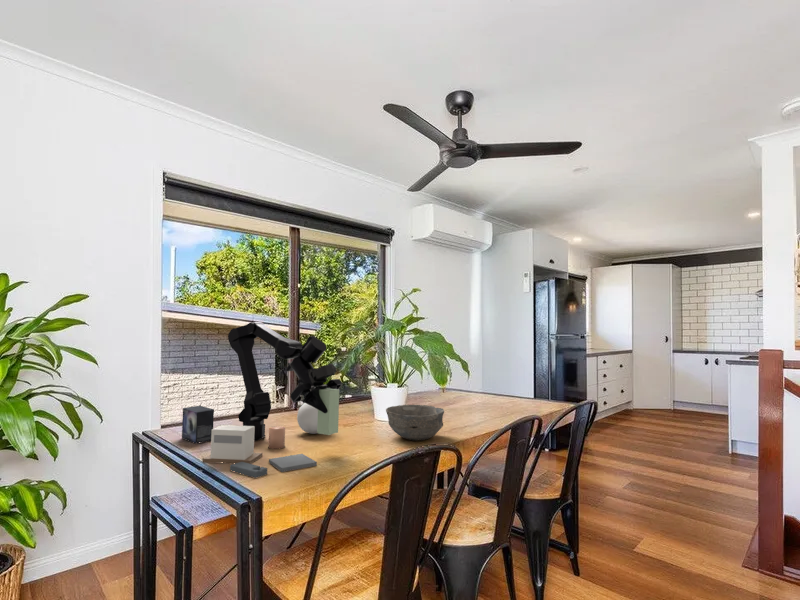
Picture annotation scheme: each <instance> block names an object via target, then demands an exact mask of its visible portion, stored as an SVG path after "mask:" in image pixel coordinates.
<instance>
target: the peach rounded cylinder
mask: <svg viewBox="0 0 800 600" xmlns="http://www.w3.org/2000/svg"><path fill="white" fill-rule="evenodd" d="M285 440H286V426H283V425H278V426H277V425H276V426H271V427H269V428H268V449H271V450H279V448H280V449H283V447H284V448H285V447H286V446H285V444H286V441H285Z"/></svg>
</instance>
